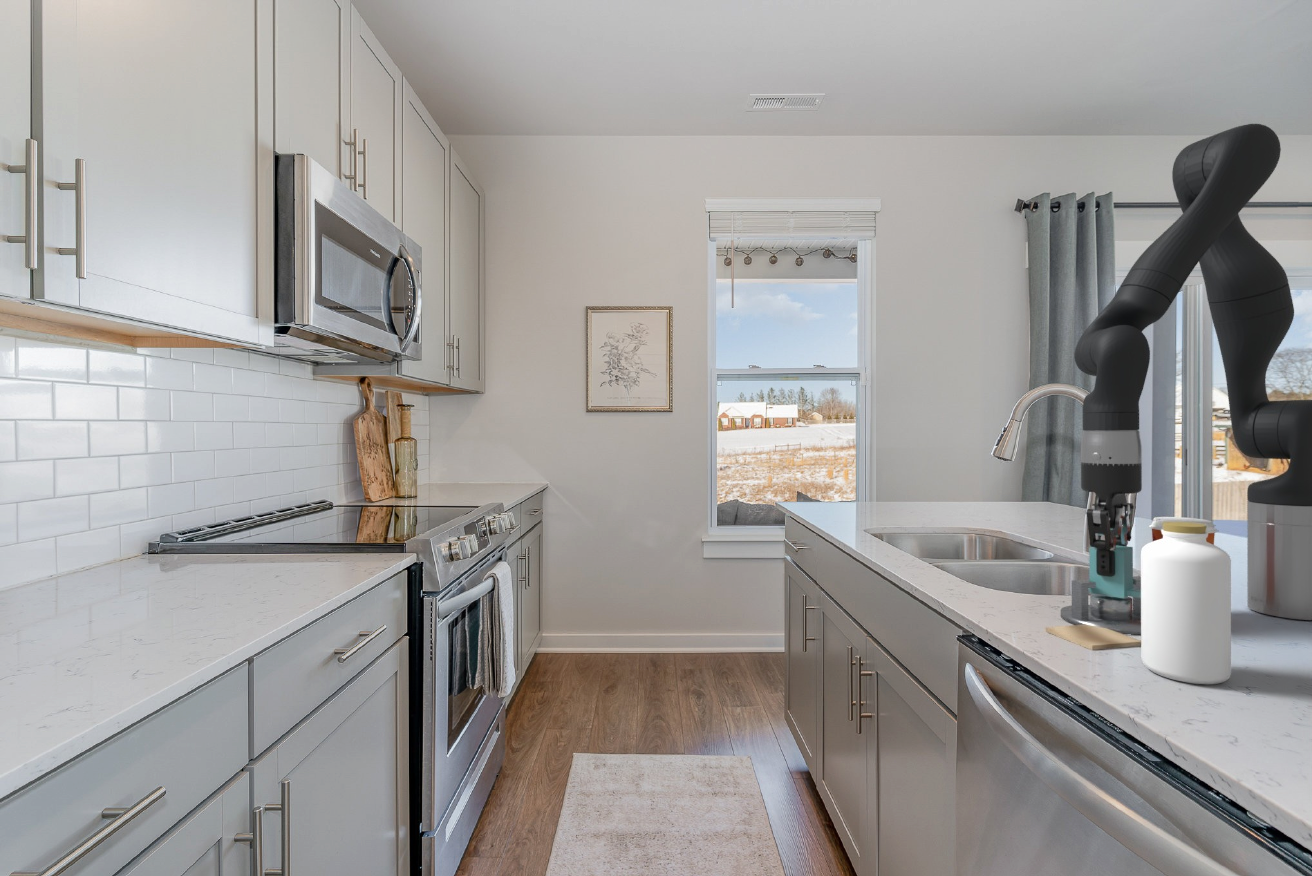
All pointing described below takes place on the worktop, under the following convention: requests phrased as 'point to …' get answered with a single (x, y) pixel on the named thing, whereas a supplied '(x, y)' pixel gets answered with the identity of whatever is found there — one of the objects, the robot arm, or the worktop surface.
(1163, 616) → the potion bottle
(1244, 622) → the worktop surface
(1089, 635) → the coaster
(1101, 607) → the grey round stand
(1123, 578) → the teal block with tabs
